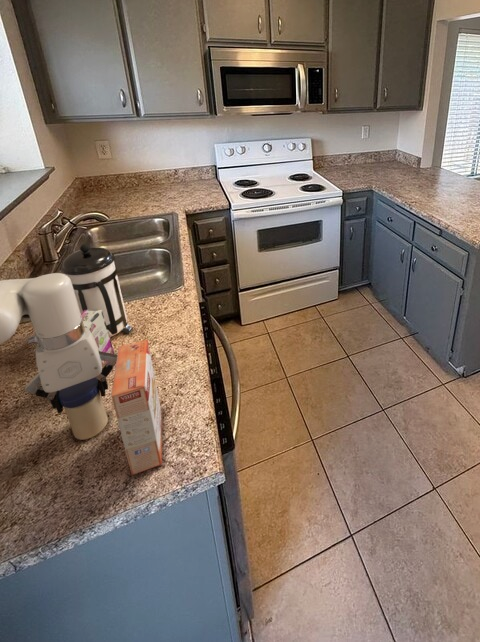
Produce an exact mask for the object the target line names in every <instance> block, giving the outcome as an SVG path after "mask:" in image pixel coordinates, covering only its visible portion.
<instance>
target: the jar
mask: <svg viewBox="0 0 480 642" xmlns="http://www.w3.org/2000/svg"><path fill="white" fill-rule="evenodd" d="M63 409H64V411H65V413H66V417H67V420H68V421H69V425H70V429H71V432H72V434H73V437H74V438H75V439H77V440H80V441H81V440H88V439H91V438H93V437H96V436H97V435H98V434H100V433H101V432H102V431H103V430H104V429H105V427H106V426H107V425H108V422H109V417H108V412H107V410H106V407H105V403H104V400H103V396H101V393H100V390H99V392H98V393H97V395H96V396H95V397H94V398H93V399H92V400H90V401H89V402H87V403H85V404H83V405H81V406H78V407H75V408H66V407H63Z"/></svg>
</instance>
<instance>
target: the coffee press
mask: <svg viewBox="0 0 480 642" xmlns="http://www.w3.org/2000/svg"><path fill="white" fill-rule="evenodd" d="M115 259H116V257H115V254H114V253H113V252H111V251H110V250H109V249H108V248H106V247H99V246H93V247H91V245H89V244H86V243H84V244H81V245H80V247H79V250H76V251H73V252H72V253H70V254H69V255H67V257H65V258H64V260H63V262H62V264H61V266H60V269H61V273H62V274H65V275H67V276H68V277H69V278H70V280H71V282H72V286H73V289H74V293H75V296H76V300H77V303H78V307H79V310H80V314H81V313H82V312H83V311H84V310H102V312H103V316H104V319H105V323H106V326H107V330H108V333H109V337H110V338H112V337H114V336H115V335H117V334H119V333H120V332H123V333H125V334H127V335H128V334H130V333H131V332H132V331H133V327H131V326H130V325H129V324H128V315H127V311H126V307H125V303H124V302H125V301H124V298H123V294H122V290H121V286H120V282H119V281H120V280H119V277H118V269H117V265H115Z"/></svg>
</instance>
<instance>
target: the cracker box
mask: <svg viewBox="0 0 480 642" xmlns="http://www.w3.org/2000/svg"><path fill="white" fill-rule="evenodd" d="M116 355H117V361H116V364H115V367H114V368H115V369H114V375H113V382H112V389H111V394H110V396H111V400H112V404H113V408H114V412H115V416H116V420H117V424H118V427H119V433H120V435H121V439H122V443H123V446H124V451H125V455H126V458H127V463H128V466H129V470H130V474H131V476H134V475H137V474H140V473H143V472H146V471H148V470H151V469H153V468H156V467H159V466H161V465H162V464H163V463H162V461H163V459H162V454H163V453H162V451H163V450H162V448H163V447H162V445H163V444H162V443H163V442H162V440H163V439H162V428H163V427H162V425H163V424H162V407H161V402H160V395H159V390H158V385H157V381H156V377H155V371H154V366H153V361H152V355H151V350H150V346H149V340H148V339H144V340H139V341H136V342H131V343H128V344H124V345H119V346H118V349H117V354H116Z"/></svg>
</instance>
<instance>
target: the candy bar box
mask: <svg viewBox="0 0 480 642" xmlns="http://www.w3.org/2000/svg"><path fill="white" fill-rule="evenodd" d="M81 317H82V321H83V324H84V327H86V328H88V329H89V330H90V332H91V334H92V335H93V337H94V339H95V341H96V344H97V346H98V349H99V351H101V352H106V353H111V354H115V350H114V347H113V344H112V341H111V337H109V333H108V330H107V326H106V323H105V319H104V316H103V312H102V310H84V311H83V312H82V313H81ZM101 362H102V367H104V366H105V365H106V364H107V363H108V361H102V360H101Z"/></svg>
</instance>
